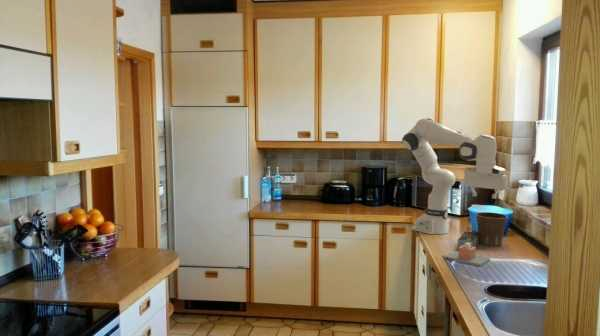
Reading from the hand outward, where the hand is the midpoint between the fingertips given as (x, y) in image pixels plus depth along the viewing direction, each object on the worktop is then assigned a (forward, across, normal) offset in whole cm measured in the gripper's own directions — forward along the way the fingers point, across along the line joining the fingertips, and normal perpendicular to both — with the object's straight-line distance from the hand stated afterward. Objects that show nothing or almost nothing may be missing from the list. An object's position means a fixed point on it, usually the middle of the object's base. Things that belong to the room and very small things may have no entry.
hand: (484, 197), depth 222 cm
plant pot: (+31, -8, +32) cm, 46 cm away
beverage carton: (+32, -14, +18) cm, 39 cm away
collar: (+30, -5, -5) cm, 31 cm away
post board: (+31, -5, -5) cm, 32 cm away
